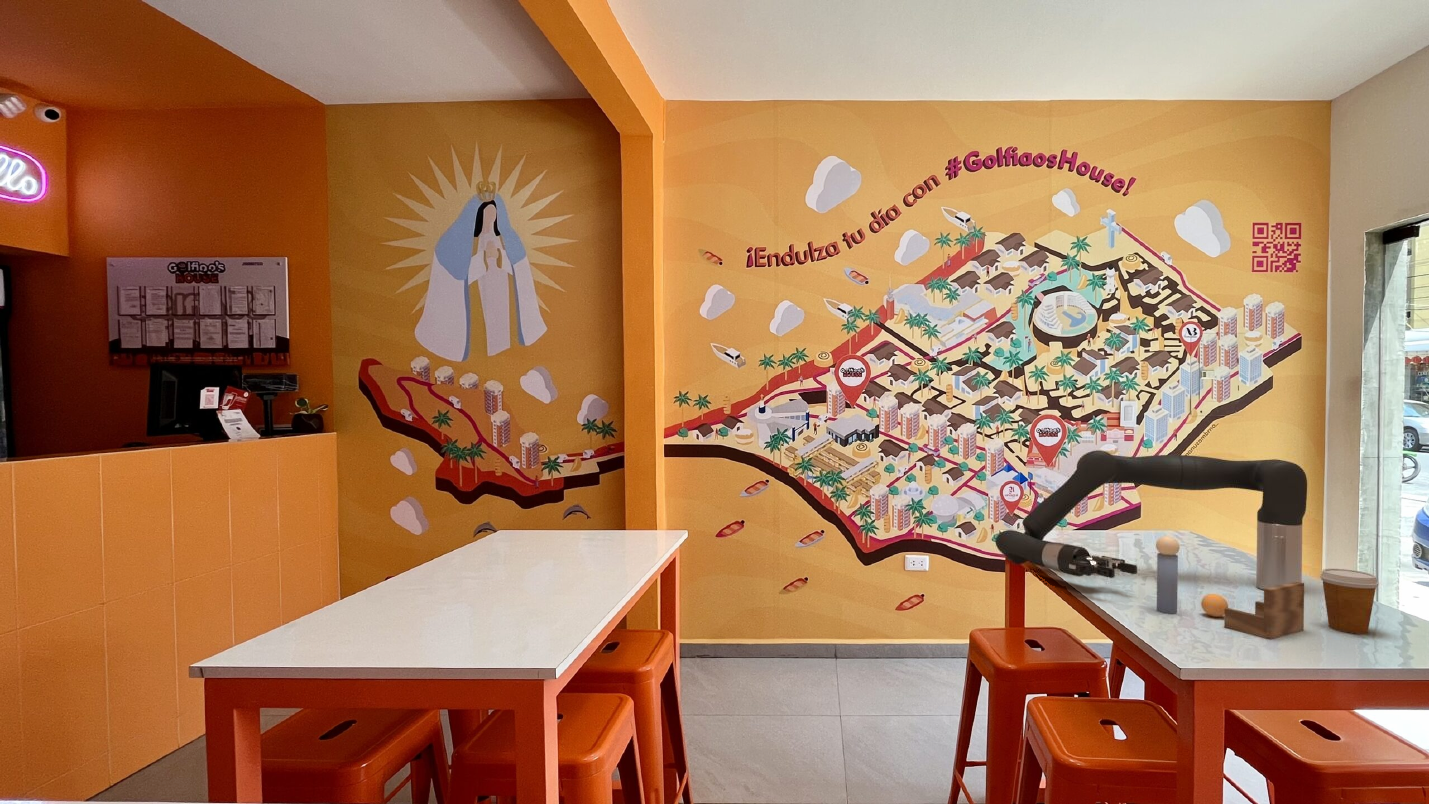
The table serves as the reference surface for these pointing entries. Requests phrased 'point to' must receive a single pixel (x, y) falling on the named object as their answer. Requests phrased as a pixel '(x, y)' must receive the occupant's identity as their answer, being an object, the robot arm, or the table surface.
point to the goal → (1271, 613)
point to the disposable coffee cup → (1349, 599)
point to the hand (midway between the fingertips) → (1125, 571)
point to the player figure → (1167, 574)
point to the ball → (1214, 605)
